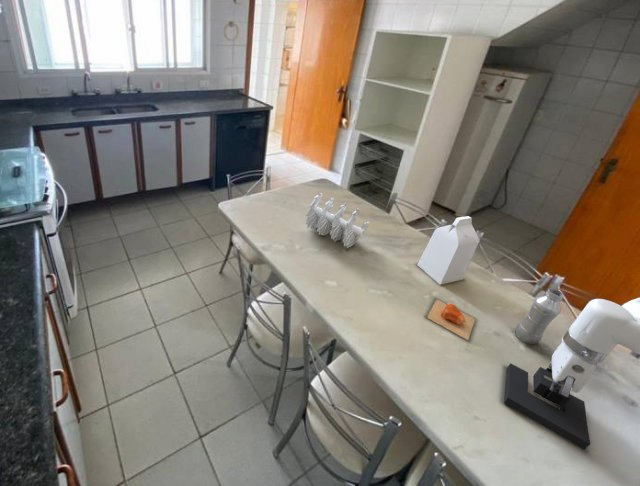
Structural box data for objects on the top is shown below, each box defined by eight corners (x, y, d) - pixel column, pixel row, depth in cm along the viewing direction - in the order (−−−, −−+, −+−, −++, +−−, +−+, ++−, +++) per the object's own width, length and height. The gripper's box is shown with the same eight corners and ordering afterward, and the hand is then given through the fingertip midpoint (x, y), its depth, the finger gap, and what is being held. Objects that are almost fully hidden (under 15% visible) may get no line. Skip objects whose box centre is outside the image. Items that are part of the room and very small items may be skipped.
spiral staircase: (350, 260, 141) (301, 232, 155) (370, 231, 149) (321, 207, 162) (353, 237, 128) (299, 209, 142) (374, 207, 135) (321, 183, 149)
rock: (467, 340, 103) (473, 331, 101) (426, 318, 110) (431, 309, 109) (475, 319, 111) (480, 310, 109) (436, 299, 119) (440, 290, 117)
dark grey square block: (561, 390, 88) (569, 380, 86) (562, 407, 84) (571, 398, 82) (533, 375, 91) (540, 366, 89) (533, 392, 87) (540, 382, 85)
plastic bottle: (540, 340, 105) (573, 295, 96) (532, 350, 102) (566, 304, 93) (517, 326, 110) (546, 281, 101) (509, 335, 106) (539, 289, 97)
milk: (439, 260, 139) (462, 208, 127) (463, 279, 129) (490, 224, 117) (417, 265, 135) (439, 211, 123) (440, 284, 126) (466, 228, 114)
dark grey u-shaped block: (579, 406, 87) (584, 401, 86) (584, 449, 78) (590, 444, 77) (506, 368, 96) (510, 362, 94) (503, 403, 86) (507, 397, 85)
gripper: (612, 381, 71) (569, 427, 79) (601, 331, 83) (564, 376, 91) (567, 359, 75) (530, 405, 83) (562, 315, 87) (530, 359, 95)
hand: (548, 389), depth 87 cm, fingers closed on dark grey square block, 6 cm apart
